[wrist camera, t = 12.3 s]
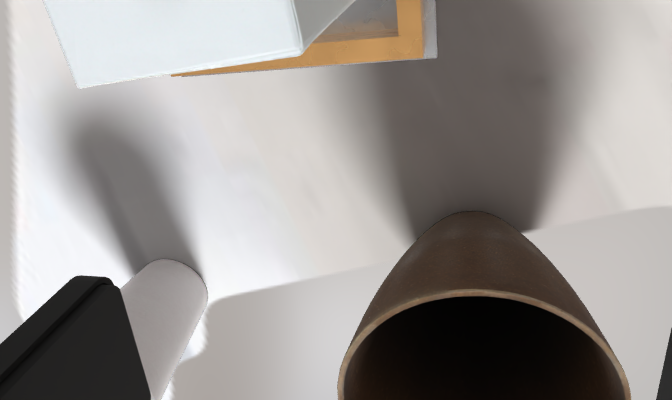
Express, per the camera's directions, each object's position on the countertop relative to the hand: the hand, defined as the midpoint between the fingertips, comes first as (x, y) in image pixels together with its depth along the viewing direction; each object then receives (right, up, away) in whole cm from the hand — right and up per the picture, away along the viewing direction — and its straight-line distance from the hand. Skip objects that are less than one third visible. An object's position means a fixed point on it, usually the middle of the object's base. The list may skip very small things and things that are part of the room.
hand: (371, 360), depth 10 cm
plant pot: (+10, -1, +35) cm, 36 cm away
